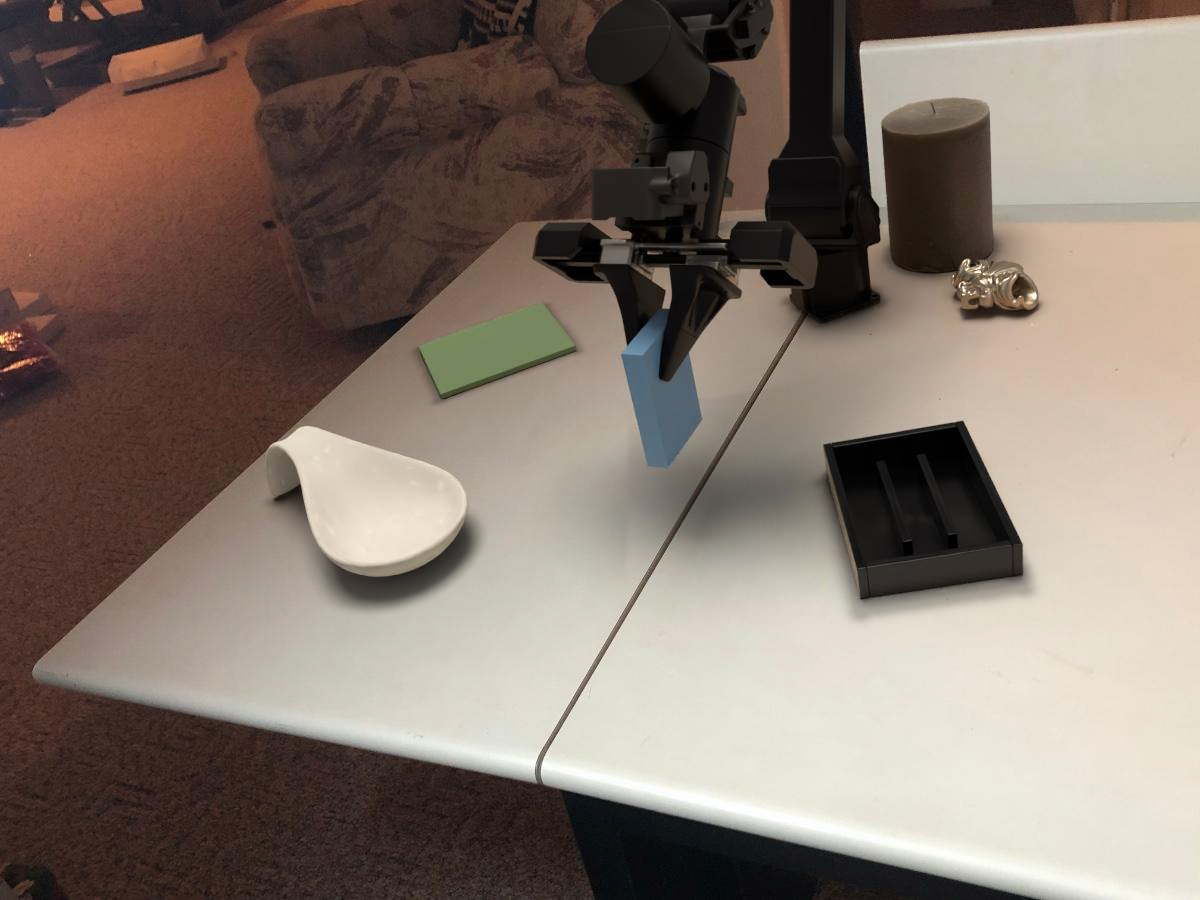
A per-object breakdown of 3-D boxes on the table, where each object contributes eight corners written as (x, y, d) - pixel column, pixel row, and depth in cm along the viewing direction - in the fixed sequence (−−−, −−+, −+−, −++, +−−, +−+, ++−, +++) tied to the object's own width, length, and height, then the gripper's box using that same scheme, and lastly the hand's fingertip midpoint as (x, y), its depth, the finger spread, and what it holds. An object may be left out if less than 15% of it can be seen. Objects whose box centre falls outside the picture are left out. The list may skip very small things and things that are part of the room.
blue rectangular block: (682, 417, 78) (659, 307, 73) (702, 419, 78) (680, 308, 73) (647, 466, 74) (620, 353, 69) (668, 469, 73) (642, 355, 69)
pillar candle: (930, 283, 102) (921, 128, 94) (871, 252, 110) (858, 107, 102) (1016, 248, 104) (1014, 93, 96) (952, 220, 112) (945, 75, 104)
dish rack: (827, 482, 81) (822, 443, 79) (965, 459, 79) (963, 420, 77) (861, 610, 69) (857, 569, 67) (1023, 586, 68) (1023, 544, 66)
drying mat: (543, 306, 116) (542, 301, 116) (576, 350, 106) (575, 345, 106) (419, 350, 114) (418, 345, 114) (442, 399, 104) (440, 394, 104)
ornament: (928, 307, 98) (926, 271, 96) (980, 277, 101) (979, 241, 99) (1000, 332, 92) (999, 294, 90) (1053, 299, 95) (1054, 261, 93)
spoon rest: (508, 531, 84) (483, 456, 80) (390, 622, 78) (356, 546, 74) (344, 451, 100) (316, 386, 96) (235, 522, 94) (201, 456, 90)
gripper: (508, 110, 71) (466, 342, 69) (779, 91, 62) (737, 358, 60) (590, 175, 80) (555, 380, 79) (835, 167, 71) (800, 399, 70)
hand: (650, 379), depth 72 cm, fingers closed on blue rectangular block, 2 cm apart
